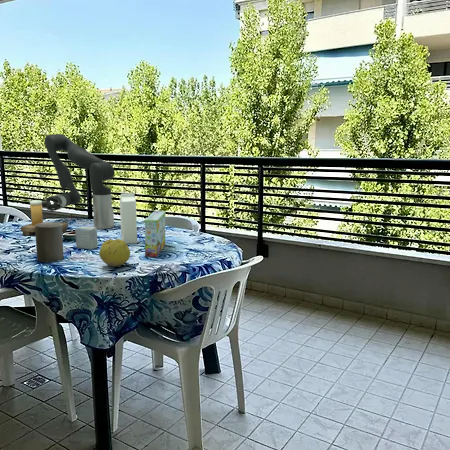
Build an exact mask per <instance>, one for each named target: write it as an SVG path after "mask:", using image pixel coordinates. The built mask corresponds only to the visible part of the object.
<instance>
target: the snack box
mask: <svg viewBox="0 0 450 450" xmlns="http://www.w3.org/2000/svg"><path fill="white" fill-rule="evenodd" d="M165 246H166V211H162V210H160V211H157V210H156V211H153V212H151V214H150V215H148V217H146V218H145V219H144V257H150V258H151V257H152V258H155V257H156V258H158V256H159V255H160V253H161V251H162V250H164V247H165Z"/></svg>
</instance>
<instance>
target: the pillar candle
mask: <svg viewBox="0 0 450 450" xmlns="http://www.w3.org/2000/svg"><path fill="white" fill-rule="evenodd" d="M47 222H48V223H39V224H36V225H35V233H34V234H35V247H36V261H37V262H40V263H54V262H53V261H56V262H59V261H58V260H60V261H62V260H63V259H64V240H63V239H64V237H63V233H62V224H61V223H62V222H52V221H51V222H50V221H47Z"/></svg>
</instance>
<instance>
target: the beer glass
mask: <svg viewBox="0 0 450 450" xmlns="http://www.w3.org/2000/svg"><path fill="white" fill-rule="evenodd" d="M42 202H43V200H39V199H38V200H37V199H35V200H34V199H33V200H29V206H30V205H31V209H30V216H31V223H32V225H34V226H35V225H36V224H39V223H43V222H44V218H43V209H42Z"/></svg>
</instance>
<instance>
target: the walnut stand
mask: <svg viewBox="0 0 450 450" xmlns="http://www.w3.org/2000/svg"><path fill="white" fill-rule="evenodd" d="M48 222H49V221H48ZM48 222H46V221H43V223H48ZM60 223H61V224H62V232H64V231H66V232H67V231H68V228H69V223H67V222H60ZM20 232H22V236H31V235H33V234H35V226H34V225H32V222H31V223H29V224H26V225H22V226H20ZM64 233H65V232H64Z"/></svg>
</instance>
